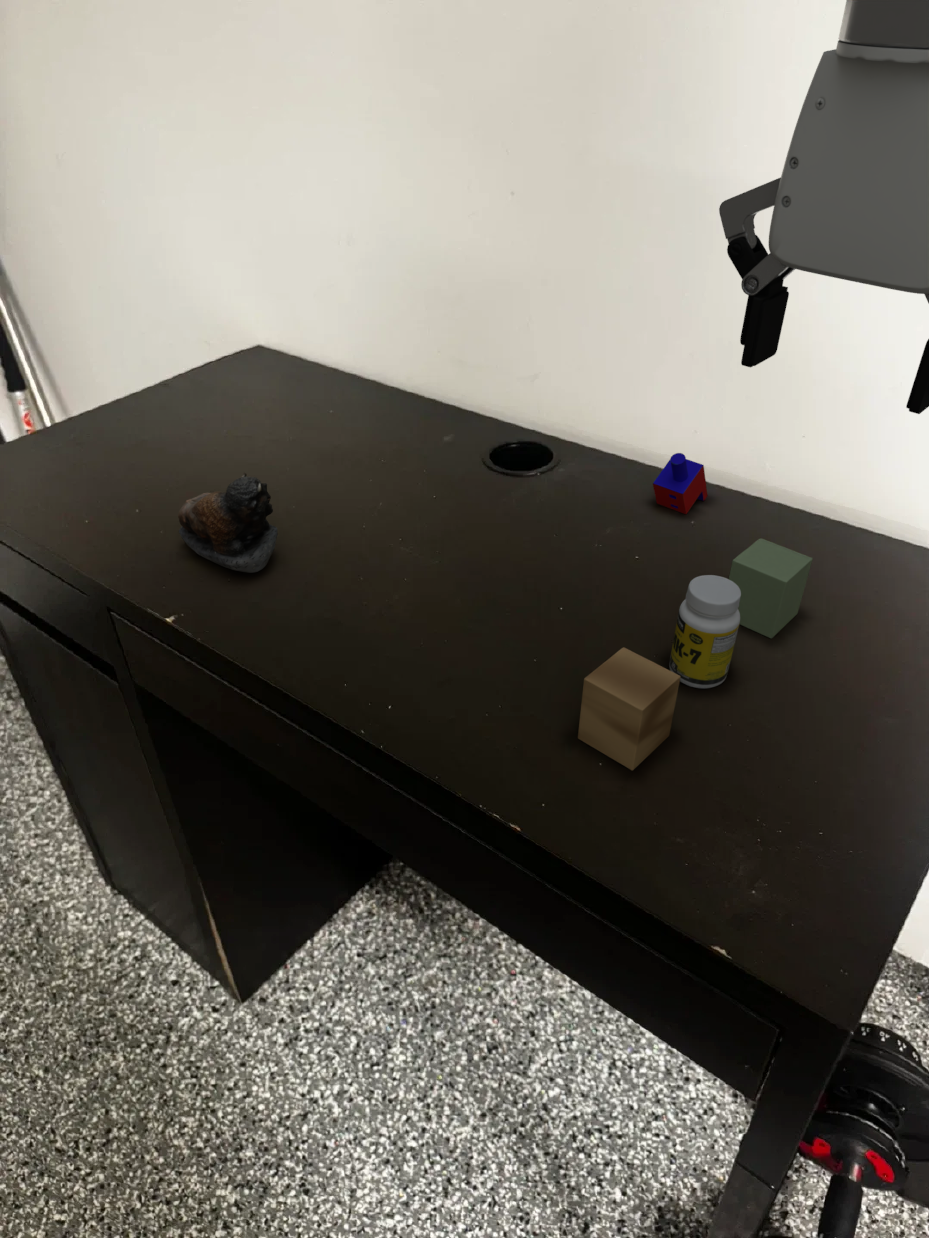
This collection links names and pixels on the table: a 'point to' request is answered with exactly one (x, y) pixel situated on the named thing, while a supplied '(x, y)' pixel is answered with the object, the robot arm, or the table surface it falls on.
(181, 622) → the table surface
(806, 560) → the sage block
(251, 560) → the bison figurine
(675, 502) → the toy building block
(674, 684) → the oak block
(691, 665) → the supplement bottle
